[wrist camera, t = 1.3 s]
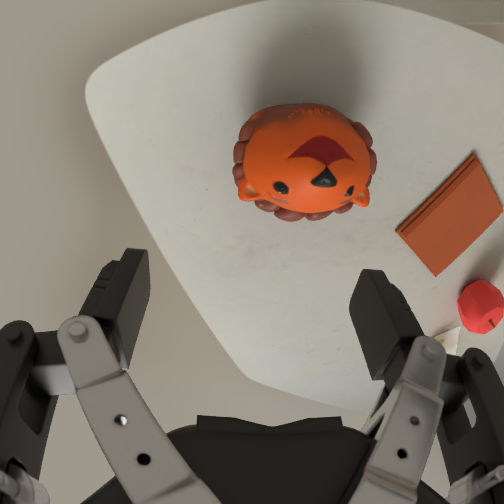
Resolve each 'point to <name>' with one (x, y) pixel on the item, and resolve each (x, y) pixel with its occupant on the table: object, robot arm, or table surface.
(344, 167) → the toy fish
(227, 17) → the table surface
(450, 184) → the book
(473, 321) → the apple
